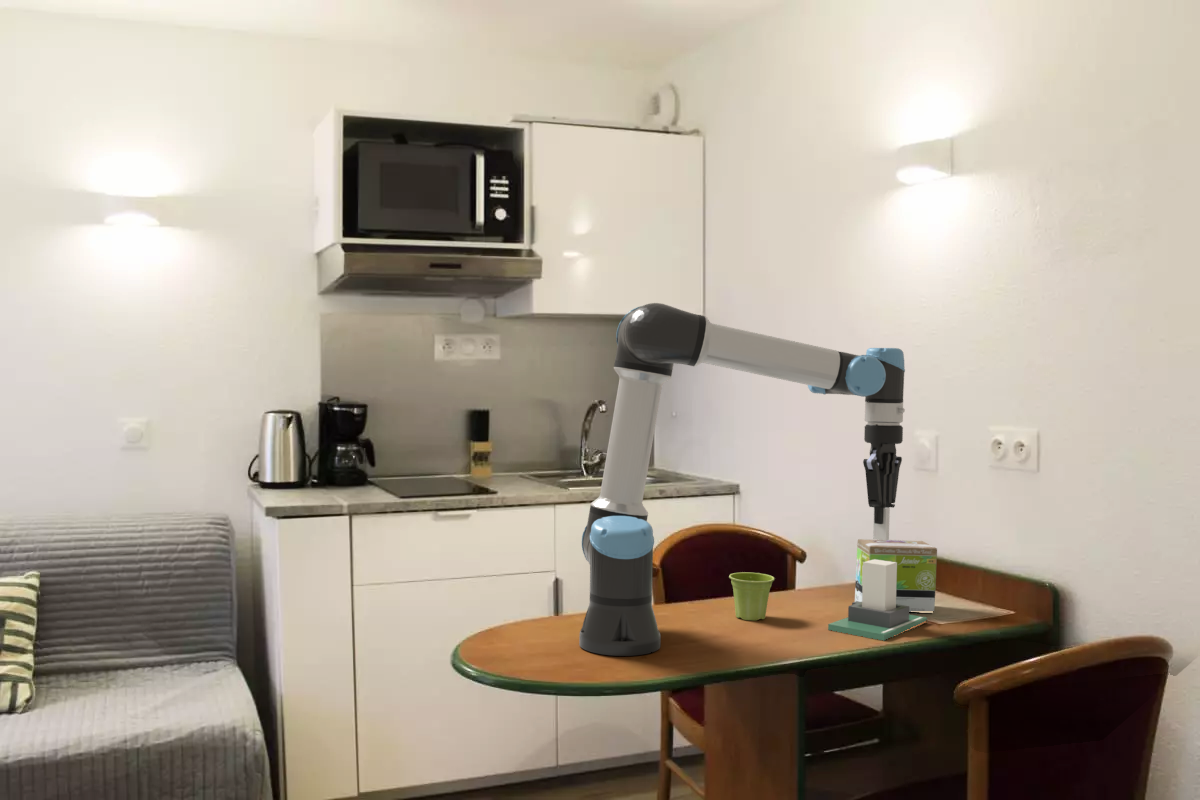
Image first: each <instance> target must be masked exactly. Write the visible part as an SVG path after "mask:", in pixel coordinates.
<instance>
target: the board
mask: <svg viewBox="0 0 1200 800" xmlns="http://www.w3.org/2000/svg"><path fill="white" fill-rule="evenodd" d="M847 616H848V617H844V618H842V619H839V620H836V621H833V622H830V623H828V625H827V628H828V631H831V630H832V632H836V631H837V632H836V633H841V632H842V633H841V634H846V633H848V634H847V635H851V634H852V636H856V635H857V636H858V637H861V636H863V638H866V639H867V638H868V639H872V638H873V640H877V639H878V640H877V641H882V640H883V642H885V641H887V640H889V639H888V638H890V637H892V638H894V637H893V636H894V635H897V634H899V633H901V632H903V631H905V630H907V629H910V628H911V627H913V626H916V625H918V624H920V623H922V622H924V621H926V620H927V621H928V617H926V616H920V615H916V614H915V615H914V614H910V613H909V606H905V605H899V604H896V608H895V609H892V610H889V611H882V610H876V609H870V608H864V607H862V602H858V601H856V602H855V601H853V602H851V605H848V611H847ZM897 636H898V635H897ZM886 639H887V640H886ZM890 639H891V638H890Z"/></svg>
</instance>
